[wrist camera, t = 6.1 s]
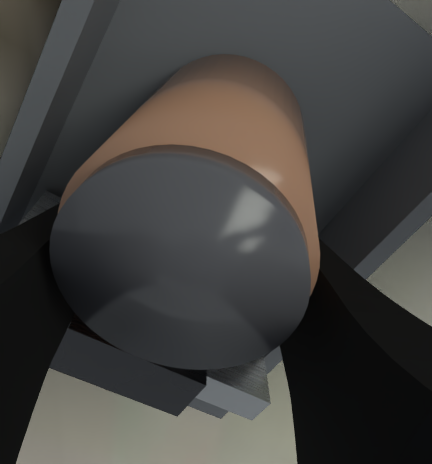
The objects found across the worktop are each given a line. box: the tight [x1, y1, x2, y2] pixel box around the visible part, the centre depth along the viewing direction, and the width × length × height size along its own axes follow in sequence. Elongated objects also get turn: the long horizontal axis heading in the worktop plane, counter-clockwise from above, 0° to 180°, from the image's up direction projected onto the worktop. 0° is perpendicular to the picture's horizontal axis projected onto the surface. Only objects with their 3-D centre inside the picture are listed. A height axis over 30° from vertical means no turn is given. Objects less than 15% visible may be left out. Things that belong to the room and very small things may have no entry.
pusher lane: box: [0, 0, 432, 419], centre depth 13 cm, size 11×15×4 cm
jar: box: [49, 54, 320, 370], centre depth 10 cm, size 5×5×7 cm
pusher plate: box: [18, 191, 271, 420], centre depth 13 cm, size 9×2×6 cm, turn 57°
